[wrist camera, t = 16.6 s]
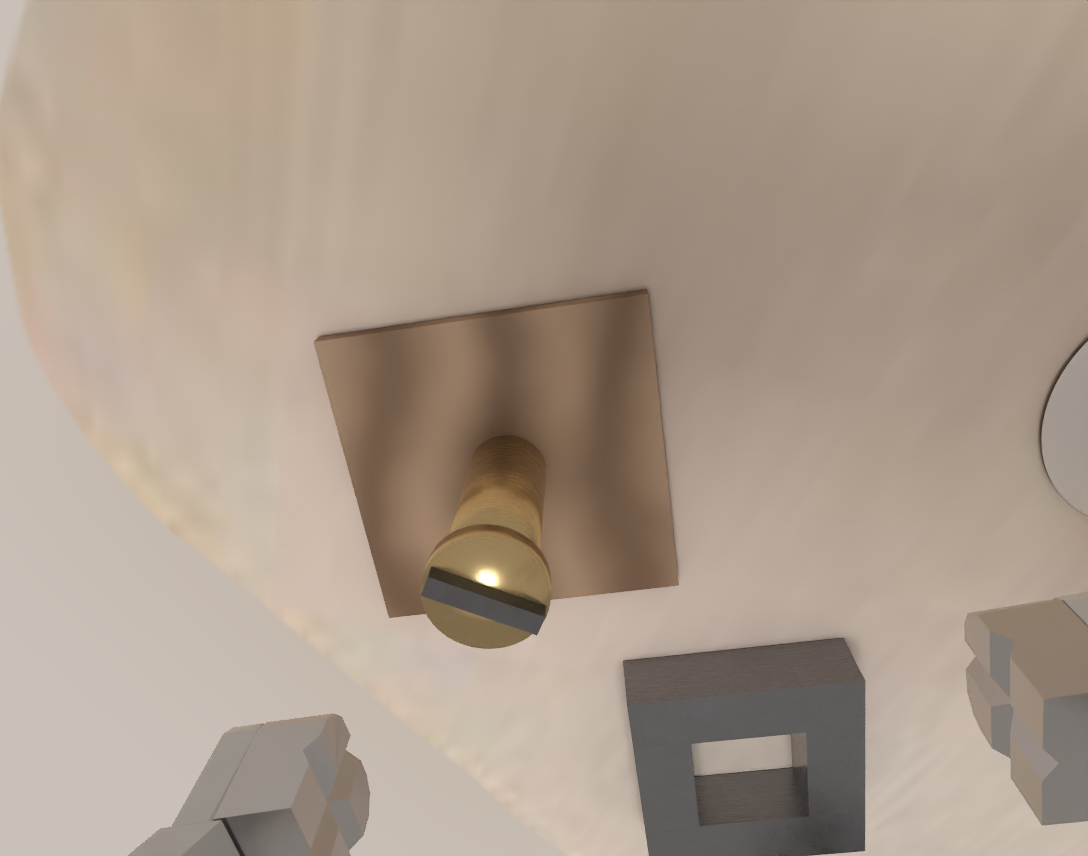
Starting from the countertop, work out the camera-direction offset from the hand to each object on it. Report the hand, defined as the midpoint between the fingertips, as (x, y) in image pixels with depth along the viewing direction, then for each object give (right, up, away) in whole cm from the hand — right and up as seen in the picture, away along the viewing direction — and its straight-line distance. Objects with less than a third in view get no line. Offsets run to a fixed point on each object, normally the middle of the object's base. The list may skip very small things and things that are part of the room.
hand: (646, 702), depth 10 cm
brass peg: (-3, +1, +35) cm, 35 cm away
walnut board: (-3, +2, +36) cm, 36 cm away
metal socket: (+12, -17, +43) cm, 48 cm away
